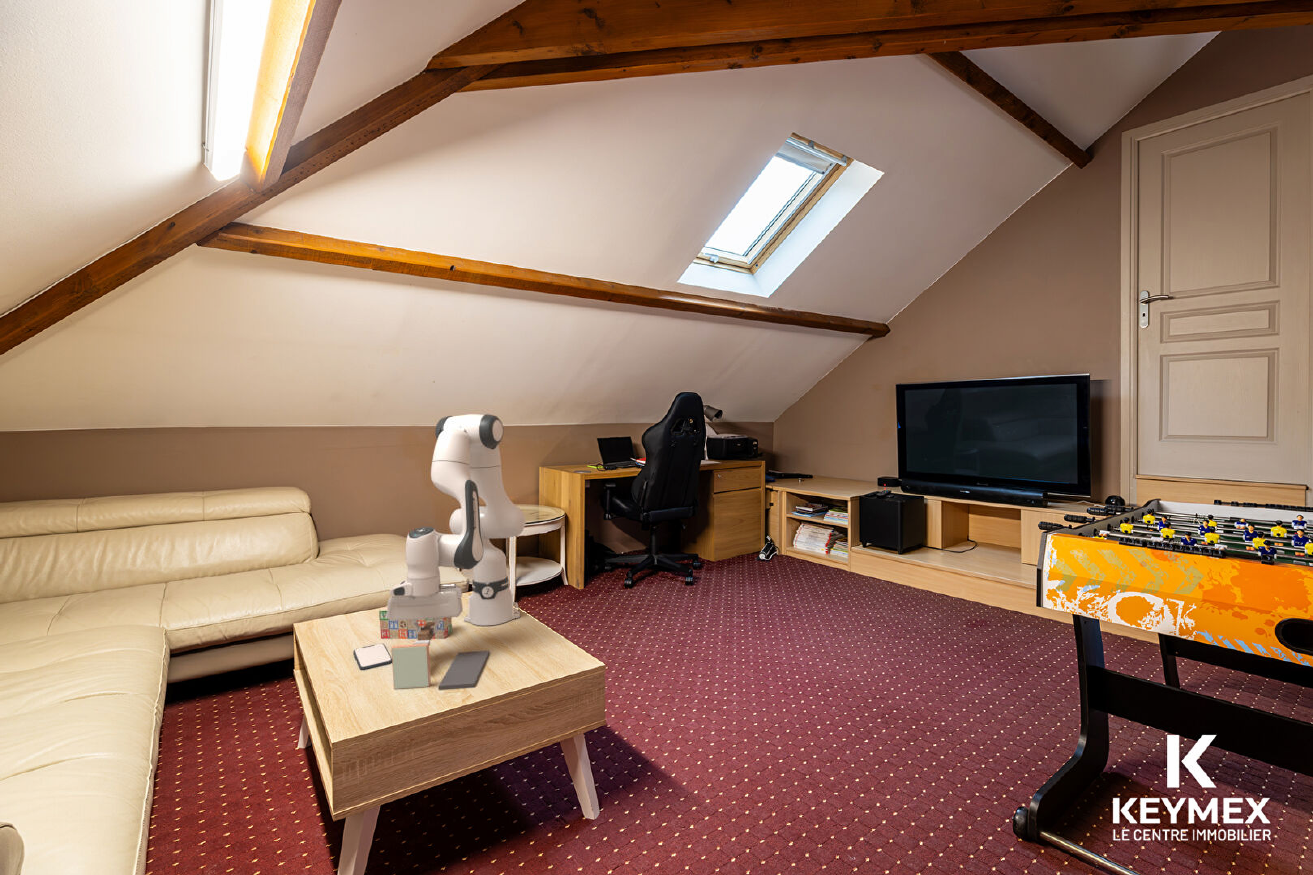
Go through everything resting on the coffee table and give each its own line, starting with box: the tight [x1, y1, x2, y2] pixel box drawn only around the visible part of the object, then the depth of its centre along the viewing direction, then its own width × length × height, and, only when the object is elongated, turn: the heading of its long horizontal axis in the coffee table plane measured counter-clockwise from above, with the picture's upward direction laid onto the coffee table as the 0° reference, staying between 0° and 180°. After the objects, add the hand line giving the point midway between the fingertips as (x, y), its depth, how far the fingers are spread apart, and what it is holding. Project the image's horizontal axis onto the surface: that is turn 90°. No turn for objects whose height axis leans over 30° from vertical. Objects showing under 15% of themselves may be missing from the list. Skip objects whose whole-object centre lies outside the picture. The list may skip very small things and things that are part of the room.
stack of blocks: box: [378, 604, 453, 640], centre depth 200 cm, size 21×6×12 cm, turn 84°
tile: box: [391, 643, 432, 690], centre depth 162 cm, size 2×9×11 cm, turn 95°
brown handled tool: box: [411, 622, 436, 646], centre depth 175 cm, size 16×4×3 cm, turn 5°
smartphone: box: [353, 643, 392, 671], centre depth 183 cm, size 9×2×16 cm
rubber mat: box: [438, 649, 490, 691], centre depth 172 cm, size 22×9×1 cm, turn 5°
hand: (426, 633), depth 177 cm, fingers closed on brown handled tool, 3 cm apart
